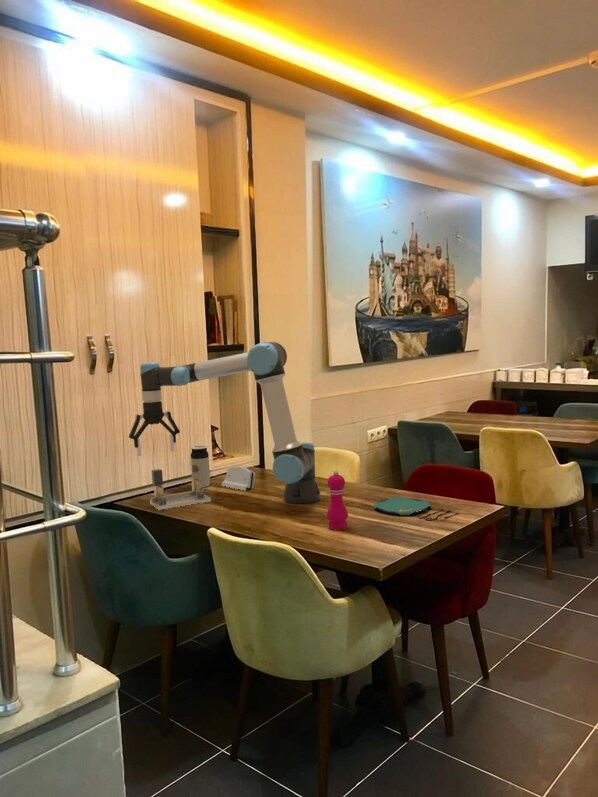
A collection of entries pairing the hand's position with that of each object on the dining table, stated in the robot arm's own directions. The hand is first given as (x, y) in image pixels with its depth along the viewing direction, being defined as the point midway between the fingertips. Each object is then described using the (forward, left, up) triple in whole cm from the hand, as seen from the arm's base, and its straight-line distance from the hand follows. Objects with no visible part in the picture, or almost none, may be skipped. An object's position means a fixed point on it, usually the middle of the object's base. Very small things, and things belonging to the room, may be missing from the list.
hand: (156, 453), depth 259 cm
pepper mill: (-69, -43, -21) cm, 84 cm away
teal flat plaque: (-68, -76, -22) cm, 105 cm away
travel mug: (+20, -25, -21) cm, 38 cm away
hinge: (+8, -38, -21) cm, 45 cm away
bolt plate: (-3, -8, -21) cm, 23 cm away
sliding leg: (-2, 0, -18) cm, 18 cm away
